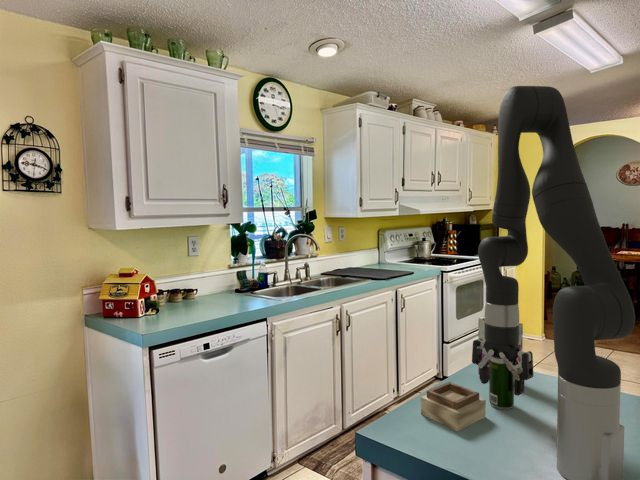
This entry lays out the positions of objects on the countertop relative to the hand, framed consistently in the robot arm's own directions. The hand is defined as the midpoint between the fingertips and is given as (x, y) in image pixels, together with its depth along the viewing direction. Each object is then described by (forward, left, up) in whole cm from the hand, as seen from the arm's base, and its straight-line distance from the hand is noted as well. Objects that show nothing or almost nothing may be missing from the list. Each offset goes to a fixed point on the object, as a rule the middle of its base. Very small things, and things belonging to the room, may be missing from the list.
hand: (500, 388), depth 104 cm
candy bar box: (+9, -14, -4) cm, 17 cm away
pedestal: (+4, +13, -4) cm, 14 cm away
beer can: (0, 0, -4) cm, 4 cm away
